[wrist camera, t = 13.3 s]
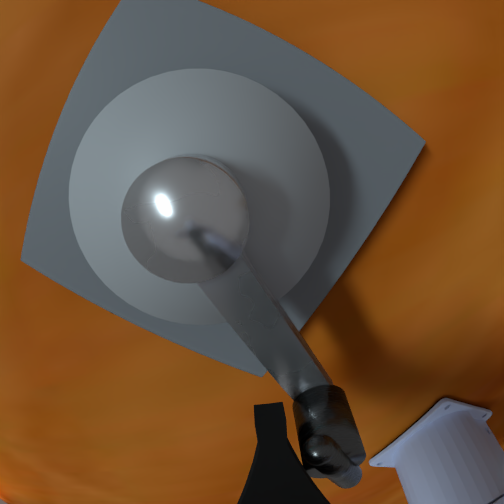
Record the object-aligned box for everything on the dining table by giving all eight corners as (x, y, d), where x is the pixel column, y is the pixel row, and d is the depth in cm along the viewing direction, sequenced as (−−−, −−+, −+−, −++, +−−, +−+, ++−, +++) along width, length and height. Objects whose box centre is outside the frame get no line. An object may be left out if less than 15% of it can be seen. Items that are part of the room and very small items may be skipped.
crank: (114, 196, 8) (30, 256, 4) (207, 130, 8) (175, 135, 4) (297, 420, 12) (312, 504, 8) (364, 389, 12) (397, 471, 8)
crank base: (415, 140, 11) (450, 146, 8) (260, 365, 14) (264, 403, 12) (141, -12, 8) (121, -38, 6) (29, 252, 12) (0, 276, 9)
